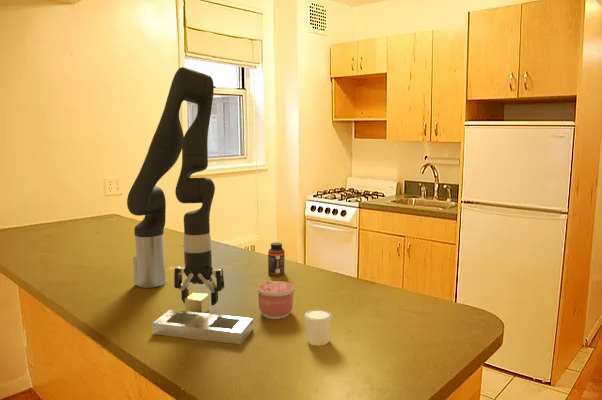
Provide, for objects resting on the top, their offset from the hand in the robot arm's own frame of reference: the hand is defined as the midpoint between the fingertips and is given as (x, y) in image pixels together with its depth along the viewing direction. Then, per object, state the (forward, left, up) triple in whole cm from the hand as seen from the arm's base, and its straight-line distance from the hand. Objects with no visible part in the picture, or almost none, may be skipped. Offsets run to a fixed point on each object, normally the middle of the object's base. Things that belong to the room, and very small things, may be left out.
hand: (199, 303), depth 133 cm
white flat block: (+6, -11, -3) cm, 13 cm away
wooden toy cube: (-1, 0, -3) cm, 3 cm away
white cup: (+36, -9, -3) cm, 38 cm away
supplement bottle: (+11, +40, -3) cm, 41 cm away
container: (+21, +5, -3) cm, 22 cm away
